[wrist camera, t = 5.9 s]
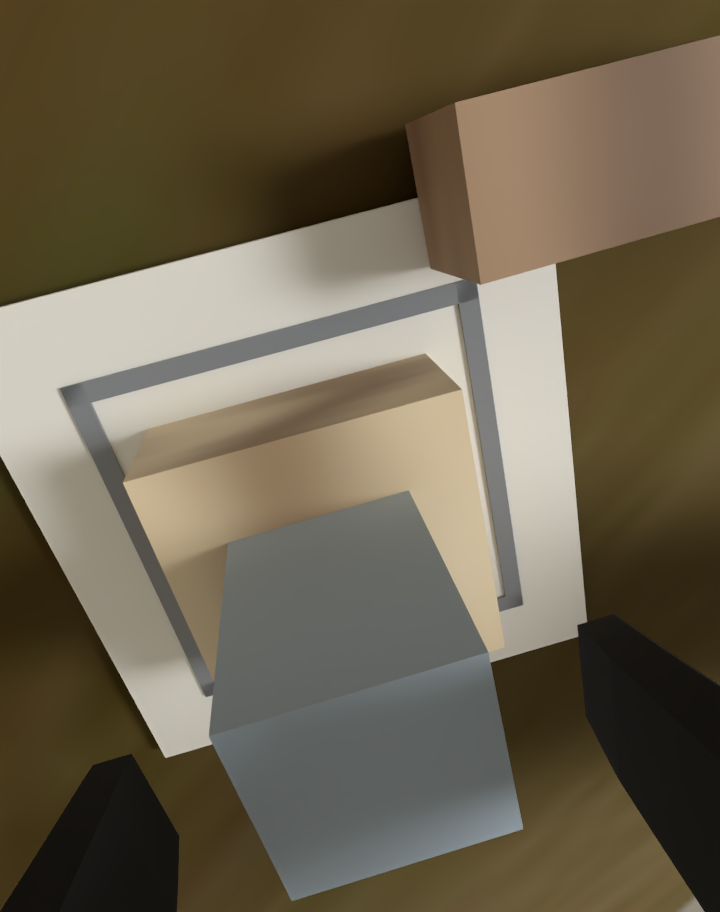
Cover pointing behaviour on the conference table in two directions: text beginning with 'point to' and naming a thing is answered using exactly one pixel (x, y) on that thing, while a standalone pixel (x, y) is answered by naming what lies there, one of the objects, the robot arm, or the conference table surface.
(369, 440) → the maple slab
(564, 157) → the walnut bar
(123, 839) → the robot arm
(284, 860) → the grey rectangular block
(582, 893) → the conference table surface
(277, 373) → the white square board
